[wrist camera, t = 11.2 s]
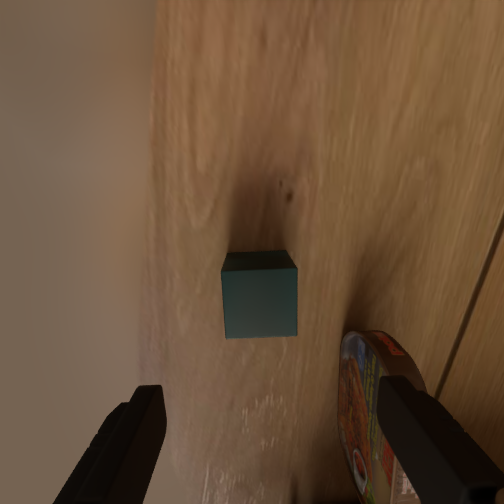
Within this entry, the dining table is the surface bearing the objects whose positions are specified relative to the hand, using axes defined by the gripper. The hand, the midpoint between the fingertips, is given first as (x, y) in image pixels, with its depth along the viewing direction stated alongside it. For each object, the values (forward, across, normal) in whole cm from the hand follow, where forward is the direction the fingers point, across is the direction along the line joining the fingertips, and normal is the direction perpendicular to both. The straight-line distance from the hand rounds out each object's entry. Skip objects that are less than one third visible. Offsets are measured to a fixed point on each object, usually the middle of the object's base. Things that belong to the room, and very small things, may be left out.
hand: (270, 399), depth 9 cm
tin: (+13, -9, +11) cm, 19 cm away
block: (+13, 0, 0) cm, 13 cm away
